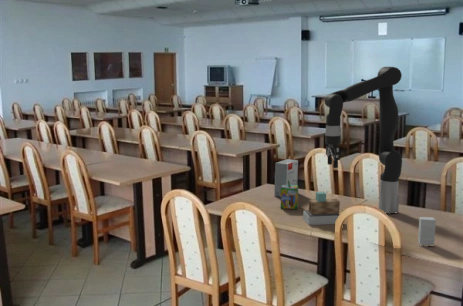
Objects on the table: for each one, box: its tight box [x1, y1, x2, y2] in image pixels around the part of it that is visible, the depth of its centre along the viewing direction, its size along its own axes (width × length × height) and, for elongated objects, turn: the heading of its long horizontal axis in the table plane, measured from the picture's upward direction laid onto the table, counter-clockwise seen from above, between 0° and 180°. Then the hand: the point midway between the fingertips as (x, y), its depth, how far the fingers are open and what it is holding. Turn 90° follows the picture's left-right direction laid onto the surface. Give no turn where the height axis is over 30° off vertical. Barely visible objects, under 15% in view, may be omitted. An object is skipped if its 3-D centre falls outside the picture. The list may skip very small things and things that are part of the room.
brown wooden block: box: [308, 198, 341, 214], centre depth 248 cm, size 14×5×6 cm, turn 97°
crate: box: [315, 191, 327, 202], centre depth 247 cm, size 4×4×4 cm
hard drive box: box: [273, 158, 299, 198], centre depth 298 cm, size 16×8×20 cm, turn 147°
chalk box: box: [280, 180, 299, 210], centre depth 272 cm, size 9×9×15 cm
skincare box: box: [417, 216, 437, 246], centre depth 217 cm, size 6×4×12 cm
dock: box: [302, 209, 341, 226], centre depth 249 cm, size 16×10×4 cm, turn 97°
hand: (332, 166), depth 254 cm, fingers open, 8 cm apart
